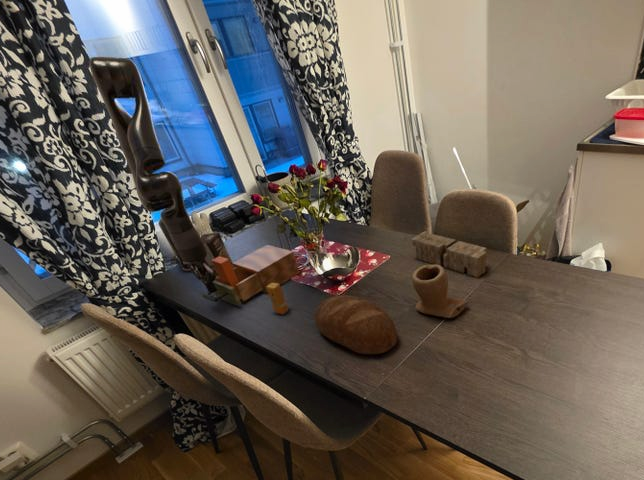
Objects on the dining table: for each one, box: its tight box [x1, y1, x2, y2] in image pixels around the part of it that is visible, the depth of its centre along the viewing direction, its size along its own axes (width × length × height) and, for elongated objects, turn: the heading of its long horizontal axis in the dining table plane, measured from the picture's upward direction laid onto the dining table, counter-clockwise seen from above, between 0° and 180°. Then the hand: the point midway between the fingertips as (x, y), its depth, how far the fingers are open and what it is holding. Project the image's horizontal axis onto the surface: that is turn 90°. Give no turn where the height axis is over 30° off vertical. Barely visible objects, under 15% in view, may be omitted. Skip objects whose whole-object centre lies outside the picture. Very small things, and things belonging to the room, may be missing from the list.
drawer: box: [202, 267, 264, 307], centre depth 136 cm, size 20×14×7 cm, turn 146°
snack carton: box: [211, 256, 240, 296], centre depth 133 cm, size 5×3×13 cm, turn 56°
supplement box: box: [266, 283, 289, 315], centre depth 126 cm, size 3×3×10 cm
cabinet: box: [232, 244, 301, 294], centre depth 144 cm, size 16×15×9 cm
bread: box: [314, 294, 398, 355], centre depth 112 cm, size 16×29×11 cm, turn 50°
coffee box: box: [200, 232, 234, 281], centre depth 146 cm, size 9×6×16 cm
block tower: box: [411, 230, 488, 279], centre depth 141 cm, size 8×8×29 cm
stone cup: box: [411, 264, 469, 319], centre depth 115 cm, size 15×12×15 cm
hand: (212, 291), depth 130 cm, fingers closed
